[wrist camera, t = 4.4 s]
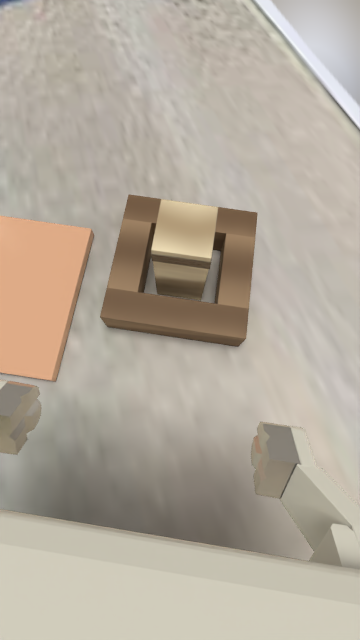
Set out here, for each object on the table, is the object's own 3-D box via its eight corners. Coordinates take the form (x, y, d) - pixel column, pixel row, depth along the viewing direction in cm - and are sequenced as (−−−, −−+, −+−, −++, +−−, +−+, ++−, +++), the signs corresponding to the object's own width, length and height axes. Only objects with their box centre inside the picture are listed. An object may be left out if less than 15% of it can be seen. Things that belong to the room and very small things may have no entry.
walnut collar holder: (238, 346, 27) (245, 338, 24) (107, 326, 27) (100, 316, 24) (249, 231, 30) (257, 212, 27) (132, 215, 31) (128, 194, 28)
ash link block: (201, 300, 28) (211, 259, 21) (156, 294, 28) (150, 250, 21) (207, 260, 29) (218, 206, 22) (164, 254, 29) (160, 198, 22)
